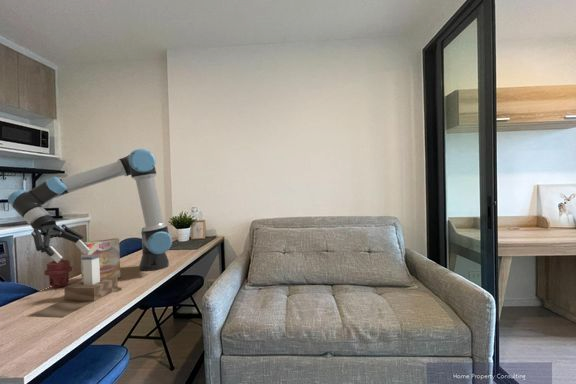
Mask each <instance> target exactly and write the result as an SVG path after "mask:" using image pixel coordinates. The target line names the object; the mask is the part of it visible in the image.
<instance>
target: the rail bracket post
mask: <svg viewBox="0 0 576 384" xmlns="http://www.w3.org/2000/svg"><path fill="white" fill-rule="evenodd" d="M99 257H100V255H87V256H84V257H81V256H80V261H81V260H83V278H84V285H94V284H96V283H98V282H100V266H99Z"/></svg>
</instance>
